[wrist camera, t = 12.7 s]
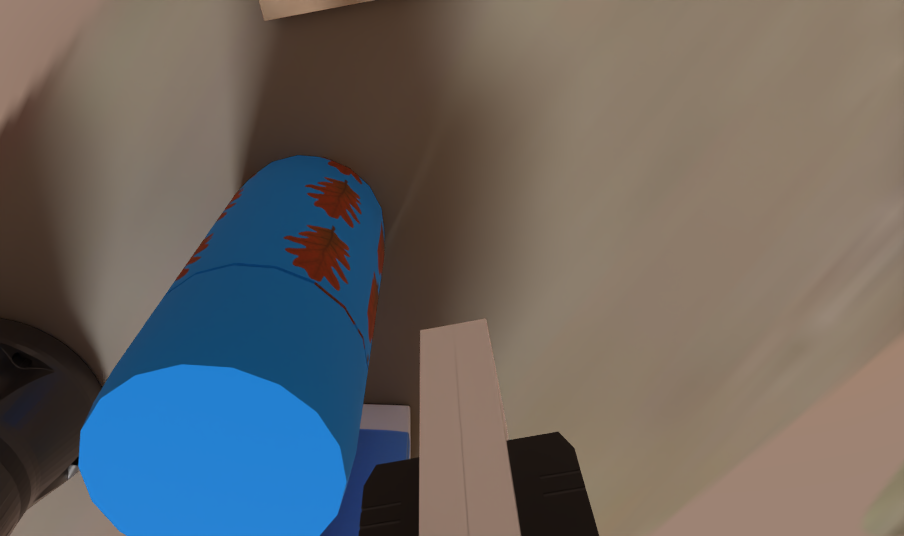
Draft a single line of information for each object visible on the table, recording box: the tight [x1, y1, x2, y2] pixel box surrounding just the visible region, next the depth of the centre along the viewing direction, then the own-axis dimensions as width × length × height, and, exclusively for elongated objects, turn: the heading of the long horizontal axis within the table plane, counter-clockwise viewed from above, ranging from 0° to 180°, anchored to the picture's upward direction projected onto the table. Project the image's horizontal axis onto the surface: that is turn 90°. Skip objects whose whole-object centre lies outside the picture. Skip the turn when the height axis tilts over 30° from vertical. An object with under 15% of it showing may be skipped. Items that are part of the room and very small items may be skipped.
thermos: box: [78, 155, 385, 536], centre depth 40 cm, size 11×11×25 cm
